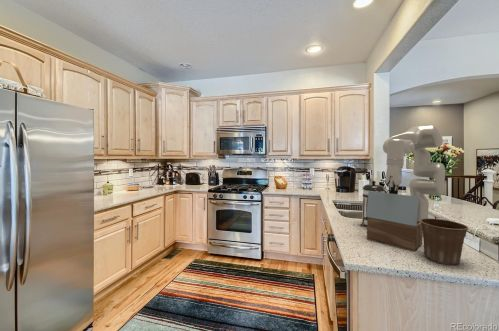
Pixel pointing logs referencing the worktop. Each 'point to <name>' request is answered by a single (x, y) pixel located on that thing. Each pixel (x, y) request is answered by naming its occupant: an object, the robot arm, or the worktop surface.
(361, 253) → the worktop surface
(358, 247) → the worktop surface
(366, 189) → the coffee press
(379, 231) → the box
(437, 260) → the plant pot
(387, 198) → the lid
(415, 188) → the robot arm
